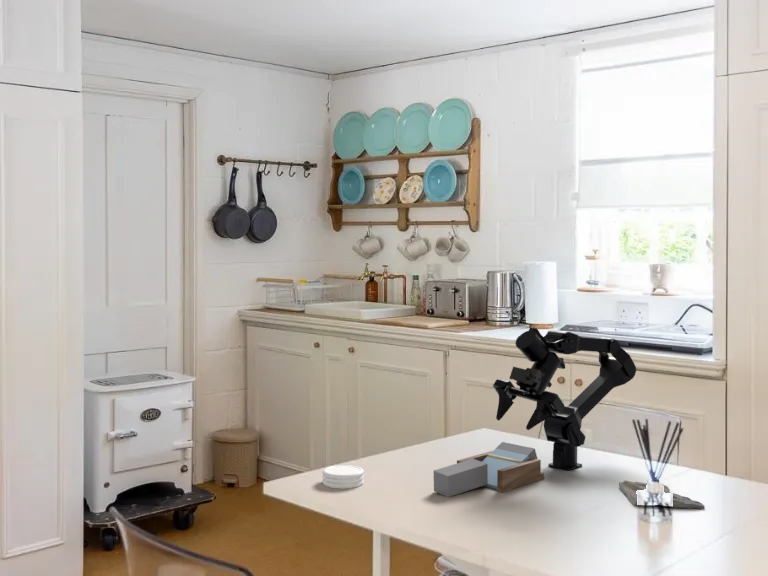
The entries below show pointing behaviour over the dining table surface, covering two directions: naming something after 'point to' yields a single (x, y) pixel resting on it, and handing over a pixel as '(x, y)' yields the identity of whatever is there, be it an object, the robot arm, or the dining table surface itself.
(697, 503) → the fossil rock
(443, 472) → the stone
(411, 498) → the dining table surface
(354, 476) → the coaster
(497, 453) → the trapdoor
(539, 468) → the hatch frame
